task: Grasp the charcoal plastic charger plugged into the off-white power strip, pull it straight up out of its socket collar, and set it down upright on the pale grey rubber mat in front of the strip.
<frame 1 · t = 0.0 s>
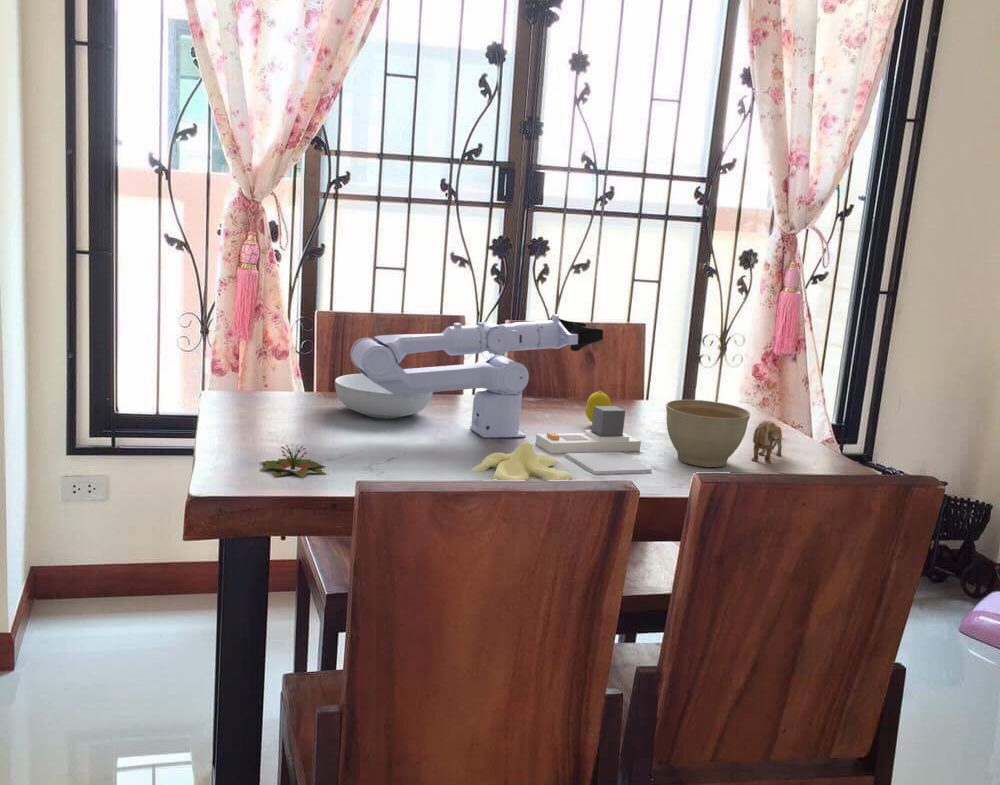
hand: (593, 331, 211), 22 cm above the table, tool horizontal, fingers open, 7 cm apart
serving bowl: (382, 414, 216), on the table
lemon: (596, 426, 222), on the table
banana peel: (515, 474, 181), on the table
lily flower: (292, 472, 171), on the table
planter bowl: (700, 462, 199), on the table
power strip: (587, 447, 203), on the table
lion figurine: (767, 460, 206), on the table
mat: (607, 464, 191), on the table
charger: (606, 437, 204), point 2 cm above the table, touching power strip
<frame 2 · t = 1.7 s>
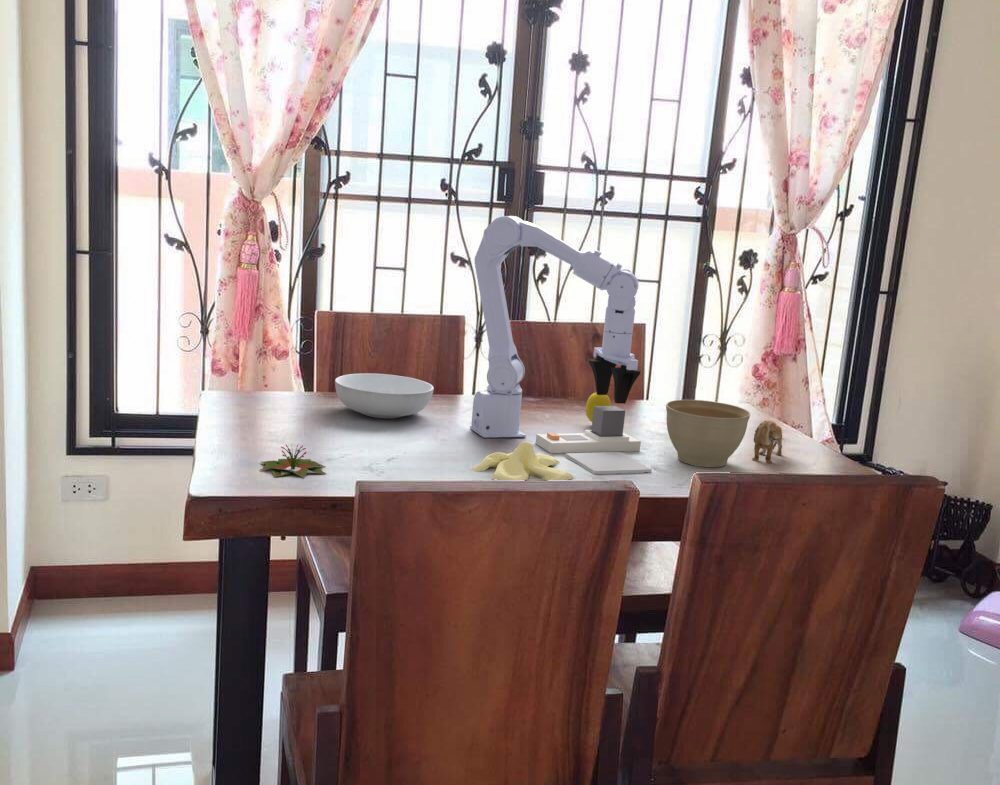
hand: (610, 398, 202), 10 cm above the table, tool pointing down, fingers open, 7 cm apart
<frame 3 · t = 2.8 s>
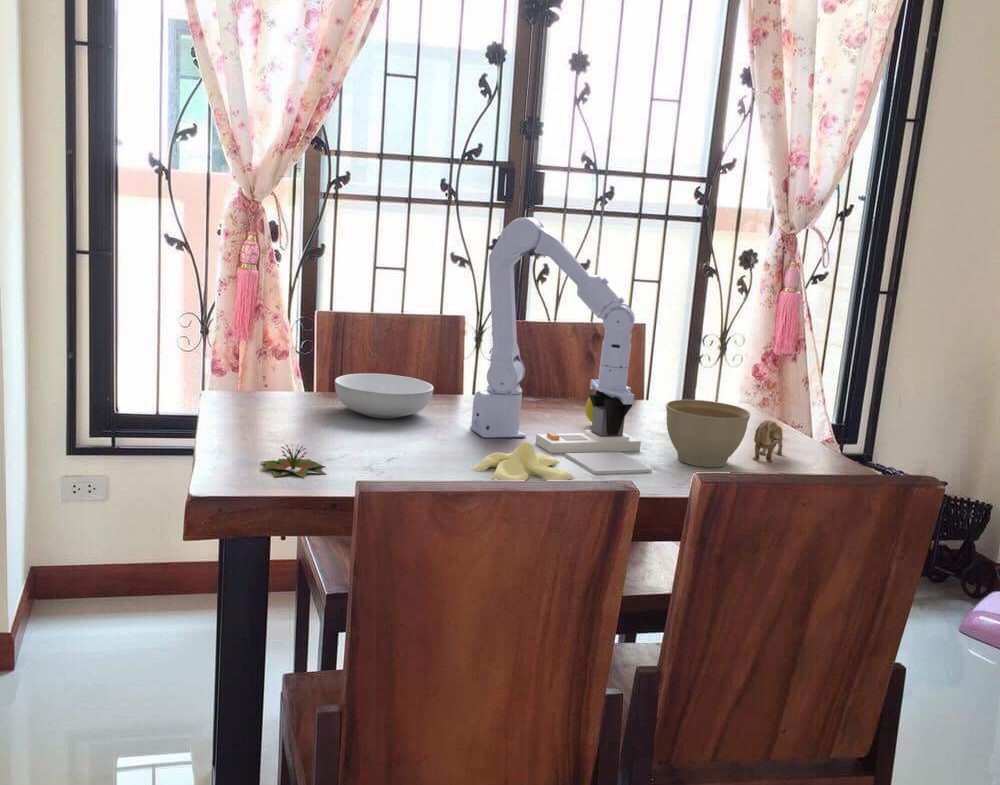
hand: (607, 431, 203), 3 cm above the table, tool pointing down, fingers closed on charger, 4 cm apart
charger: (606, 437, 204), point 2 cm above the table, touching gripper, power strip
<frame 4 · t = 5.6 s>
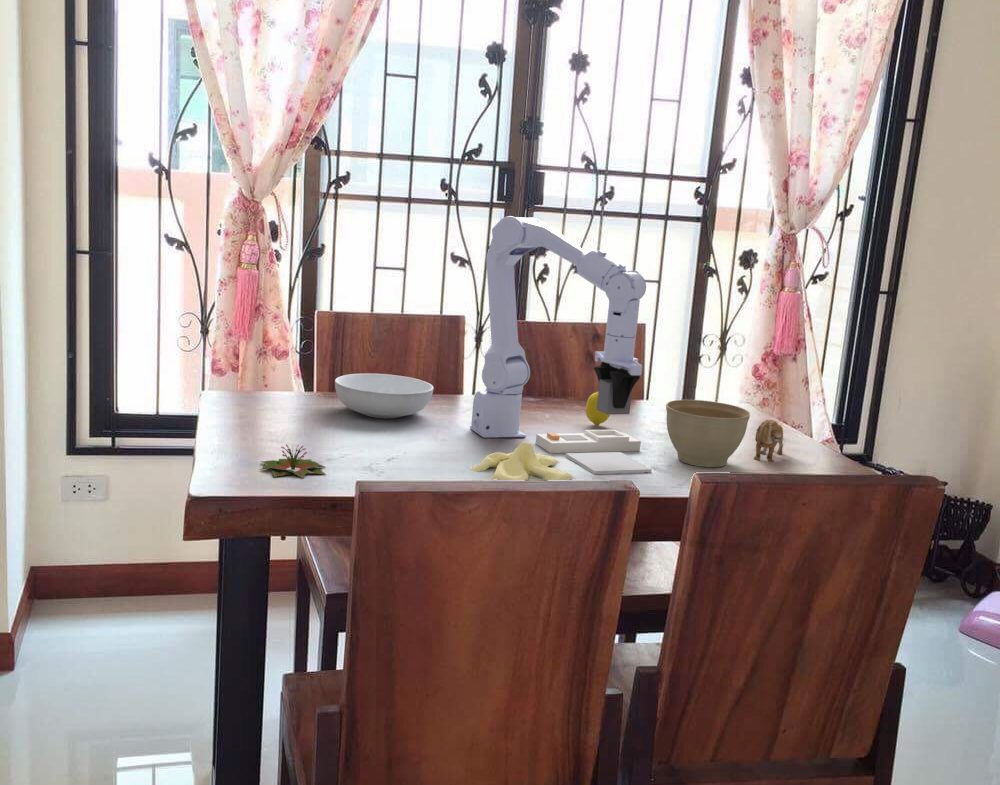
hand: (613, 405, 193), 10 cm above the table, tool pointing down, fingers closed on charger, 4 cm apart
charger: (612, 411, 194), point 9 cm above the table, touching gripper
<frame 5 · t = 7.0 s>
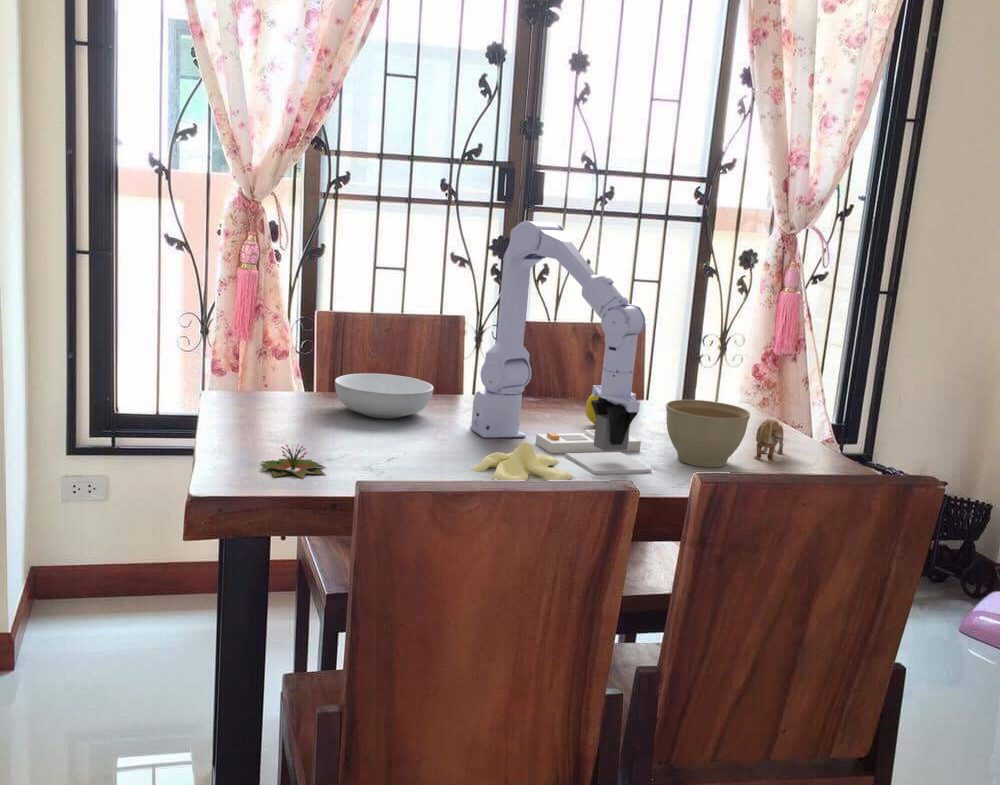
hand: (610, 441, 190), 5 cm above the table, tool pointing down, fingers closed on charger, 4 cm apart
charger: (610, 447, 190), point 3 cm above the table, touching gripper
when the fingers open (3 cm above the table, at t = 8.1 s): charger drops 1 cm, resting on mat.
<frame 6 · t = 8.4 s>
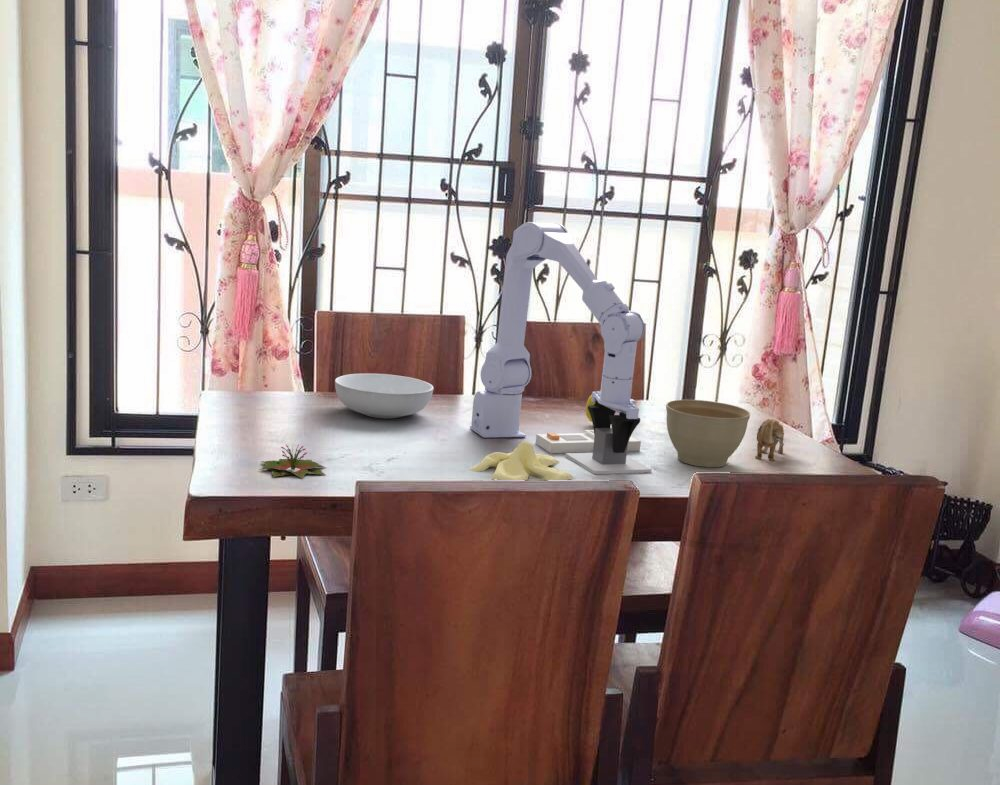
hand: (609, 447, 190), 3 cm above the table, tool pointing down, fingers open, 6 cm apart
charger: (608, 461, 191), point 1 cm above the table, touching mat
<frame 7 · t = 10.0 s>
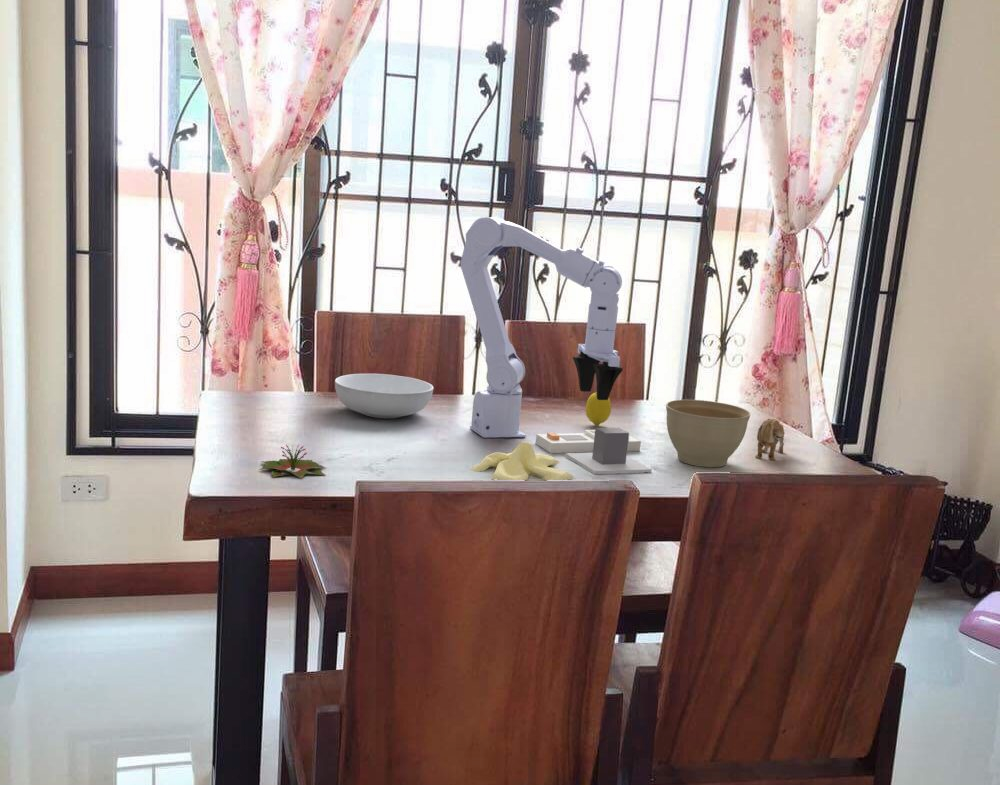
hand: (593, 395, 202), 10 cm above the table, tool pointing down, fingers open, 7 cm apart
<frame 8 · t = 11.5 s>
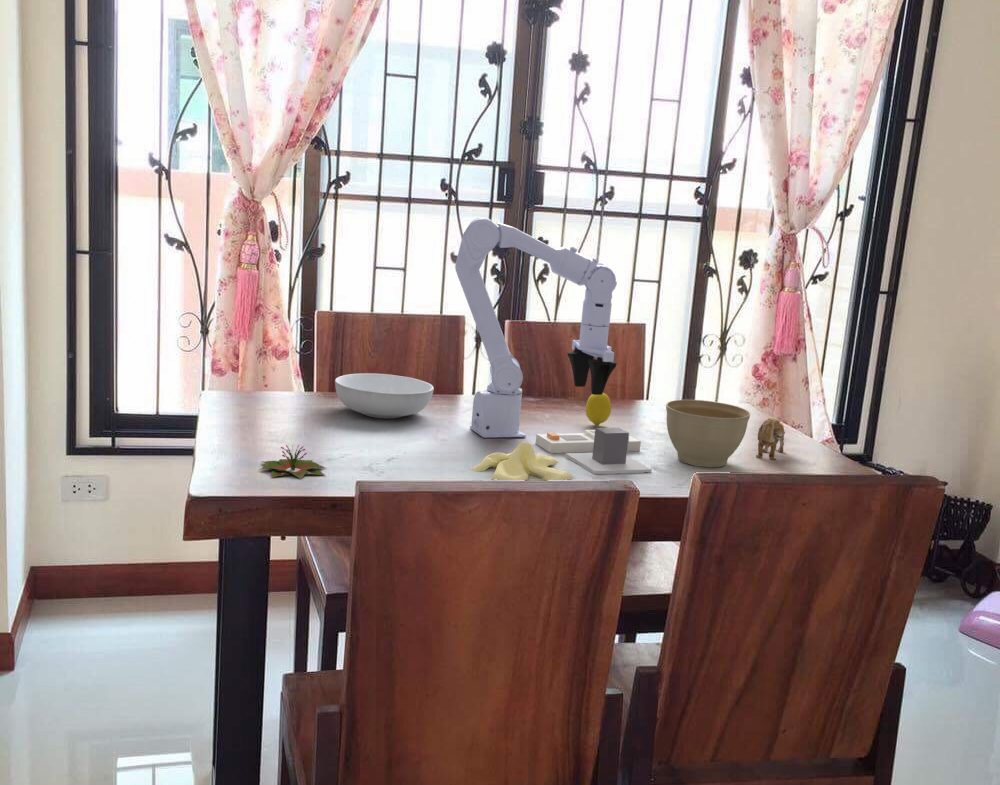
hand: (588, 390, 207), 10 cm above the table, tool pointing down, fingers open, 7 cm apart
at the end: charger inside the target area on the mat (0.1 cm from its centre), point 0.6 cm above the mat's base; charger tilted 0°; the gripper is holding nothing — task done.
